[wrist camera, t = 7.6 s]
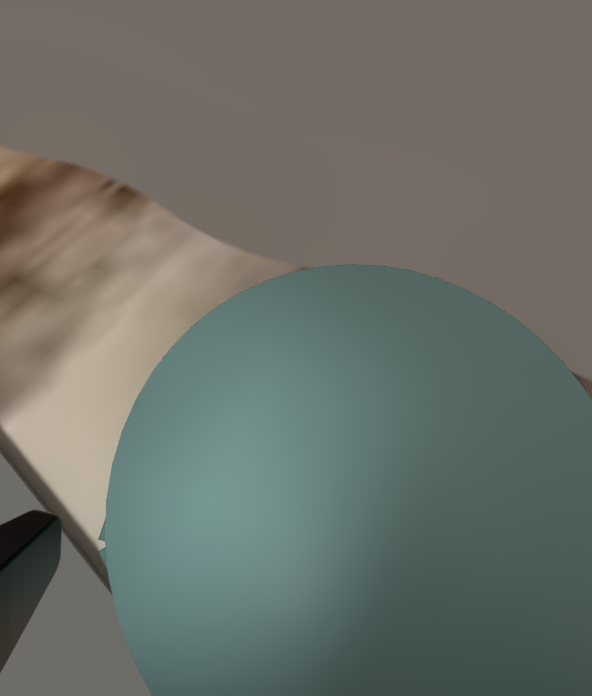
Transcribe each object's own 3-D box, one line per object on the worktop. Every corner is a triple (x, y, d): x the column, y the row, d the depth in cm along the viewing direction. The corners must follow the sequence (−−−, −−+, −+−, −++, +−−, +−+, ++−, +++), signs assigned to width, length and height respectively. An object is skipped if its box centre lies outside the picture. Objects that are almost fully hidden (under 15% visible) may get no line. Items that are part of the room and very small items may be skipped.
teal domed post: (395, 680, 15) (668, 913, 5) (175, 627, 15) (4, 748, 5) (419, 457, 18) (625, 317, 8) (233, 415, 18) (198, 224, 8)
